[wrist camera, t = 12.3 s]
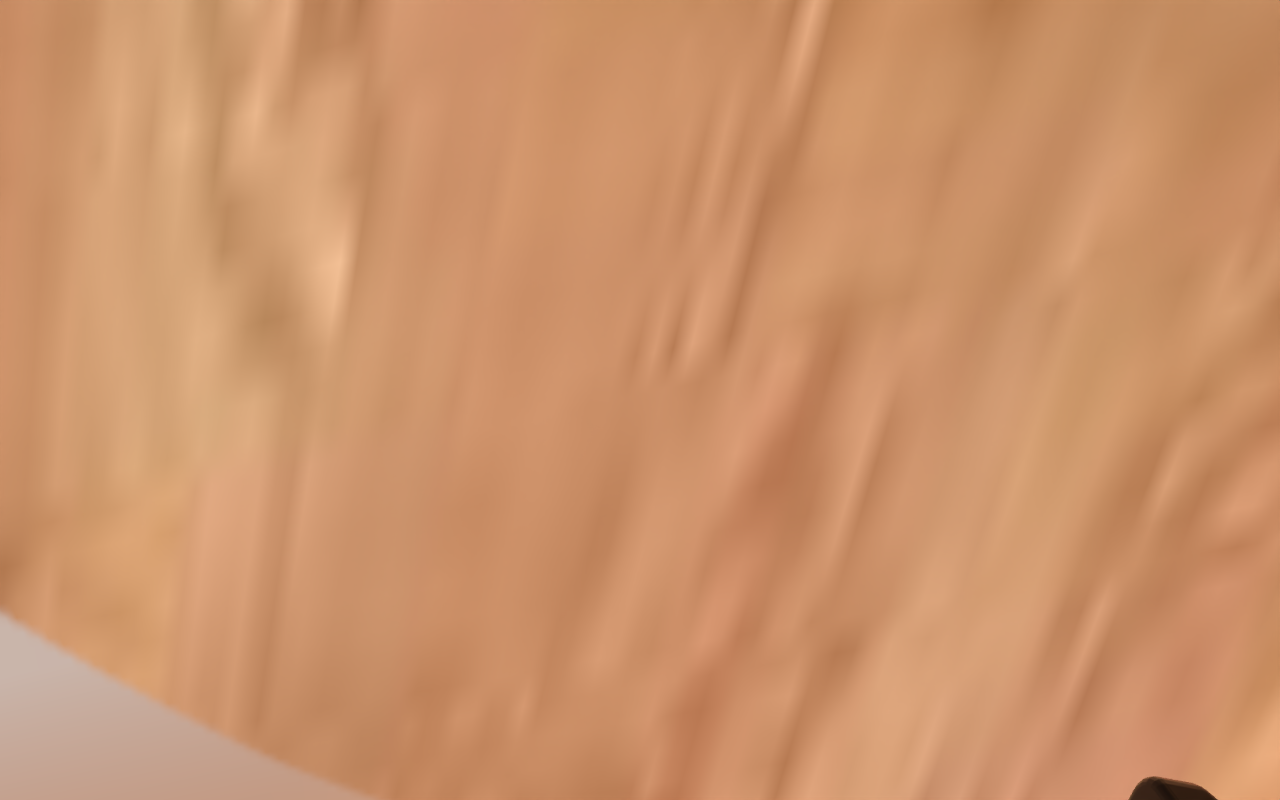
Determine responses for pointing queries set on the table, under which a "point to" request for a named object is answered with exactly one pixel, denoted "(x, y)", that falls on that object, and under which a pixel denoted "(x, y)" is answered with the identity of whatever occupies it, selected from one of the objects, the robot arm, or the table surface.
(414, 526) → the table surface
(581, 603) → the table surface
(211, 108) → the table surface
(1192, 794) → the robot arm
